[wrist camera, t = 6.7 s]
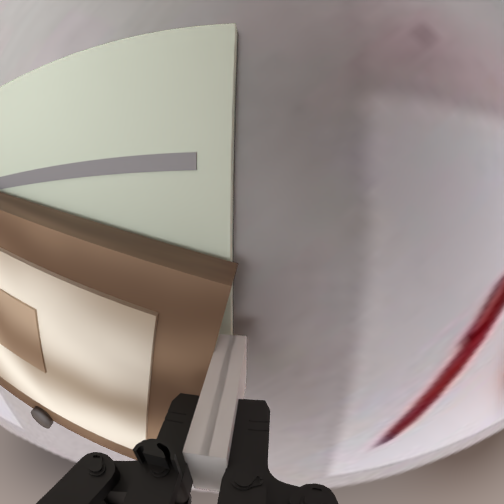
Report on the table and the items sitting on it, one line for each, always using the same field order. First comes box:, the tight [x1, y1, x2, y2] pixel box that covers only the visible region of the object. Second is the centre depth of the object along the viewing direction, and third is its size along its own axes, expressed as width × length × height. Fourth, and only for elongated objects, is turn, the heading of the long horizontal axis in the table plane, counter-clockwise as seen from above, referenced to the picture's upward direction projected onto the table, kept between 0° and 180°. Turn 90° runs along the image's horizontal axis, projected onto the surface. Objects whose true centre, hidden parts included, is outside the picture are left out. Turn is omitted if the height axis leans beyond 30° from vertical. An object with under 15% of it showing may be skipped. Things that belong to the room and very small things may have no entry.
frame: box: [0, 192, 238, 460], centre depth 13 cm, size 16×22×3 cm
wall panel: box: [0, 23, 238, 346], centre depth 15 cm, size 26×28×1 cm
